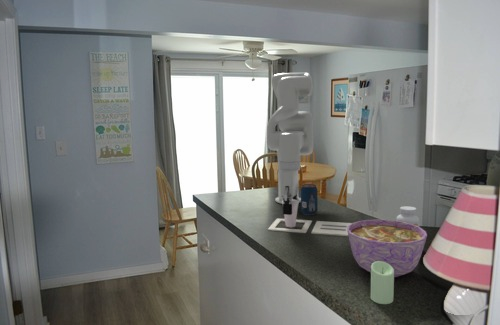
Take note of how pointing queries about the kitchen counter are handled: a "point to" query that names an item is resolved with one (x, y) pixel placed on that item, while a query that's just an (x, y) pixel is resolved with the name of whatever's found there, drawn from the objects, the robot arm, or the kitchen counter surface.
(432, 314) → the kitchen counter surface
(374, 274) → the candle
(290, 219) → the smoothie
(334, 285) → the kitchen counter surface
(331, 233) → the pads
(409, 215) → the supplement bottle
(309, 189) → the soda can
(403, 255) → the bowl of food
